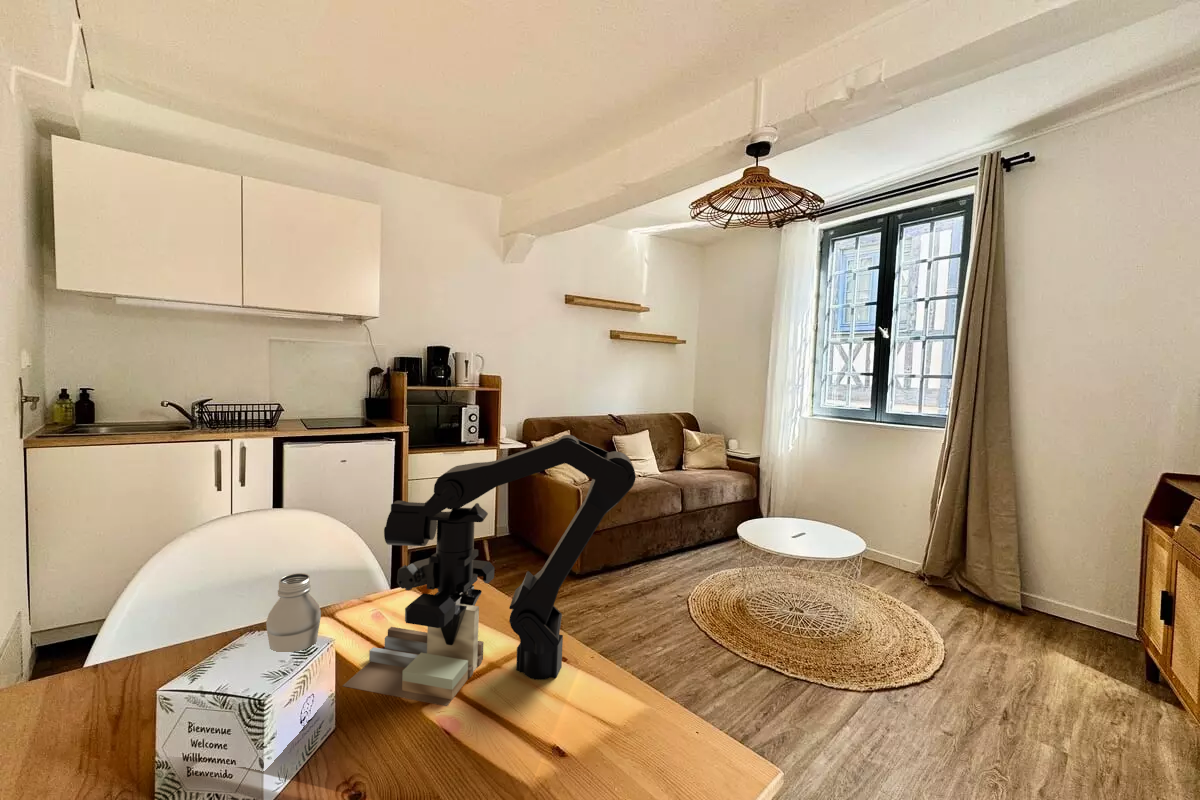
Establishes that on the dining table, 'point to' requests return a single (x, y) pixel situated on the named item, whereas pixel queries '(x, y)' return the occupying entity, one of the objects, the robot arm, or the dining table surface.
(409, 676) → the sage offcut
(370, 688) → the walnut rack
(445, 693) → the oak offcut
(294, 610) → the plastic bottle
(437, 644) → the birch sheet
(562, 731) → the dining table surface
